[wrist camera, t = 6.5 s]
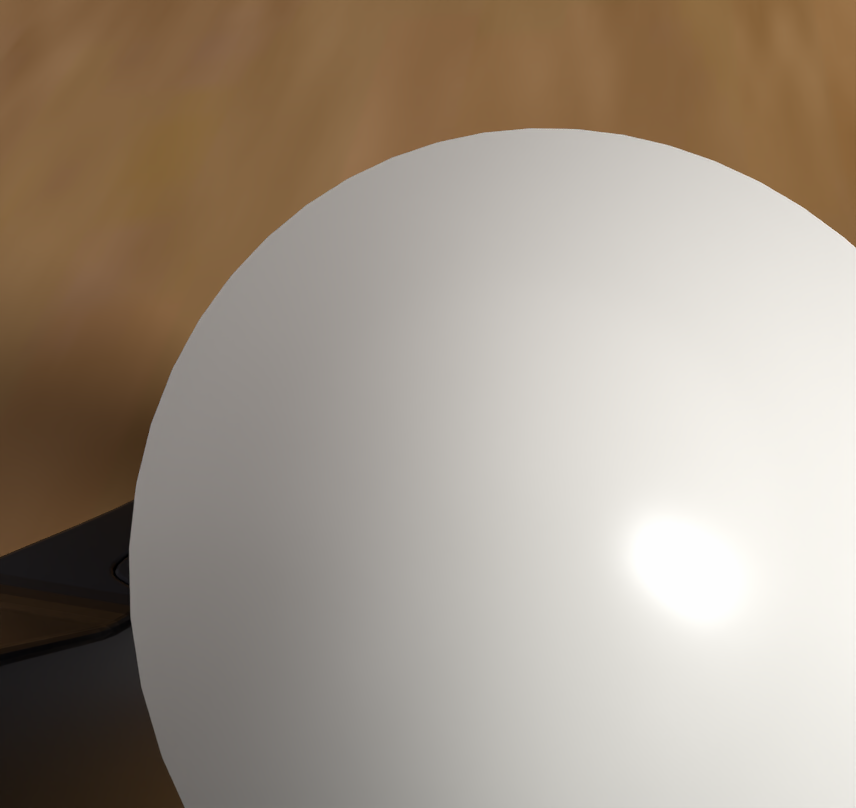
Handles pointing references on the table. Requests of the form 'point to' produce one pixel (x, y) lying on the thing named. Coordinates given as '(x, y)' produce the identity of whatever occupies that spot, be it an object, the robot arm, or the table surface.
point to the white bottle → (512, 495)
